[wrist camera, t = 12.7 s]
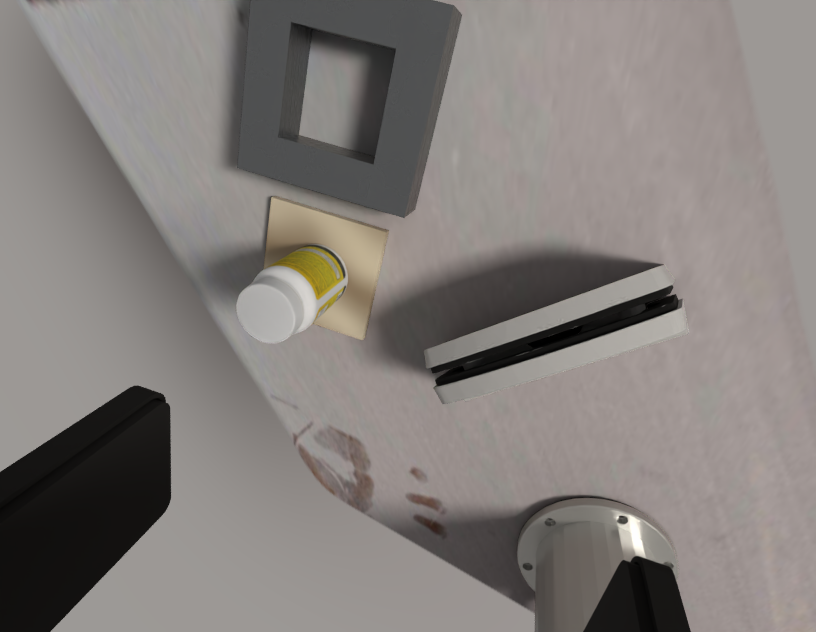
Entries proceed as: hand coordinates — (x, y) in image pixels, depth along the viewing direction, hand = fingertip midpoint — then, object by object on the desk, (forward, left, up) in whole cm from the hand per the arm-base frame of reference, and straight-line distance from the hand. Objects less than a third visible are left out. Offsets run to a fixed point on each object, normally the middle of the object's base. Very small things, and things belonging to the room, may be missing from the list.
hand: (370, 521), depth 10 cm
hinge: (-5, -6, -27) cm, 28 cm away
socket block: (+6, +12, -27) cm, 30 cm away
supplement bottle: (-7, +11, -26) cm, 30 cm away
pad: (-7, +12, -27) cm, 30 cm away
